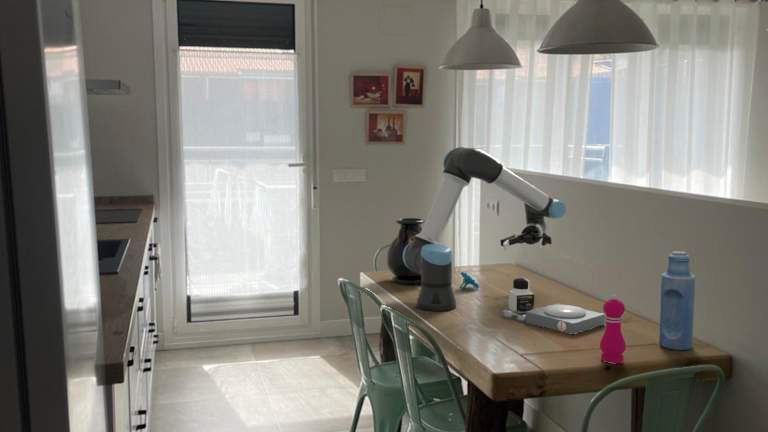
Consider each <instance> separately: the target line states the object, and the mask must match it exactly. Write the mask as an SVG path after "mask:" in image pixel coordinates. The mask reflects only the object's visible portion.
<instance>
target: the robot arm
mask: <svg viewBox="0 0 768 432" xmlns="http://www.w3.org/2000/svg"><path fill="white" fill-rule="evenodd" d="M442 165H443V171H442V177H443V180H442V182H441V185H440V186H439V189H438V191H437V194H436V196H435V199H434V201H433V203H432V205H431V208H430V210H429V213H428V215H427V217H426V220H424V221H425V222H424V223H423V227H421V229H422V231H421V233H420V234H417V235H415V237H414V239H413V242H411V243H410V244H408V245H407V246H406V247H405V249H404V251H403V261H404V264H405V265H406V266H407V267H408V268H409V269H410V270H411V271H413V272H416V273H419V274H421V284H420V290H419V294H418V298H417V299H416V307H417V308H418V309H421V310H424V311H430V312H431V311H432V312H443V311H445V312H446V311H452V310H454V309H456V308H457V300H456V298H455V293H454V291H453V286H452V285H453V283H452V282H453V254H452V249H451V248H450V247H449V246H447V245H443V244H441V239H442V238H443V235H444V233H445V231H446V228H447V226H448V223H449V222H450V220H451V218H452V214H453V212H454V210H455V207H456V205H457V203H458V201H459V199H460V196H461V193H462V192H463V189H464V188H465V187H467V186H469V185H470V184H471V180H472V179H478V180H479V181H480V180H481V181H483V182H486V184H489V185H491V184H493V185H495V186H497V187H498V188H499V189H502V190H503V191H505V192H506V193H508V194H509V195H511V196H513V197H515V198H516V199H518V200H520V201H521V202H523V203H524V212H525V221H526V222H525V223H526V226H525V227H524V228H523V229H522V230H521V233H520V234H518V235H516V234H515V233H514V234H511V235H509V236H507V237H505V238H502V239H500V241H499V242H500V246H501V247H503V252H504V251H505V252H506V251H507V250H508V249H509V247H510V246H513V245H516V244H523V243H525V244H527V245H534V244H535V245H536V244H538V245H537V246H538V250H542V248H543V247H544V246H546V245H547V244H548V245H552V243H553V242H552V237H551V236H549V235H547V233H546V231H547V222H546V221H545V218H550V219H558V220H560V219H562V218H563V217H564V216H565V214H566V212H567V205H566V204H565V203H564V202H563V200H562V201H561V200H559V199H555V198H553V197H551V196H549V195H548V194H546V193H545V192H543V191H541V190H540V189H539V188H537V187H535V186H534V185H533V184H531V183H529V182H528V181H526V180H525V179H523V178H522V177H520V176H519V175H516V174H515V173H514V172H512V171H511V170H509V169H508V168H506V167H504V164H503V162H502V161H500V160H498V159H497V158H496V157H493V156H492V155H490V154H489V153H488V152H486V151H484V150H482V149H479V148H476V147H464V146H461V147H460V146H459V147H458V146H457V147H455V148H452V149H450V150H449V151H447V153H446V154H445V156H444V157H443V160H442Z"/></svg>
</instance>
